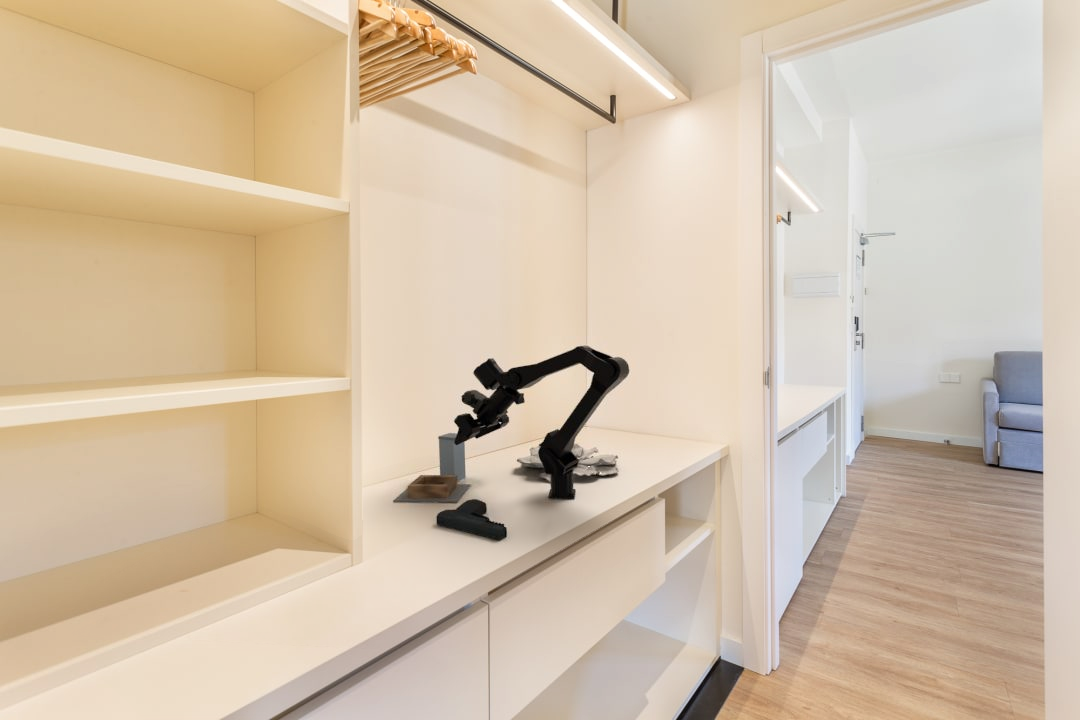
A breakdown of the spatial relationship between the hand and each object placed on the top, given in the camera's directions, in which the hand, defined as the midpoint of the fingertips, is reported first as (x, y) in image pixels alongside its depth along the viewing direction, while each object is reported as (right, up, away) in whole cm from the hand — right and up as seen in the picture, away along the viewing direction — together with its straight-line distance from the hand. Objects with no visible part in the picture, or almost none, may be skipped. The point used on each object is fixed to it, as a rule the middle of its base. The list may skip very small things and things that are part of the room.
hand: (465, 440), depth 143 cm
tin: (-4, -11, +3) cm, 12 cm away
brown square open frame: (-7, -12, -10) cm, 17 cm away
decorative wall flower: (+29, -11, +12) cm, 33 cm away
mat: (-7, -12, -10) cm, 17 cm away
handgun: (+8, -14, -31) cm, 35 cm away
